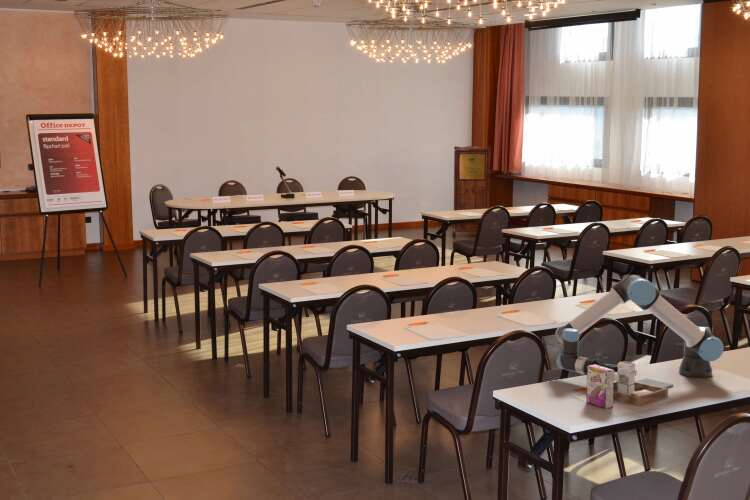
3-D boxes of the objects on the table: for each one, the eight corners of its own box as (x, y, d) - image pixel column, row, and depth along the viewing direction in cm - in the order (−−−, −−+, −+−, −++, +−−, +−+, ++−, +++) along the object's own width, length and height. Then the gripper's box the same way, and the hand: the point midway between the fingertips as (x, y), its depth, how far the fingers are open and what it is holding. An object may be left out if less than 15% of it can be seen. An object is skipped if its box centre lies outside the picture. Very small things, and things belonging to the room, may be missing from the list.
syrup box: (634, 394, 405) (635, 362, 403) (628, 397, 400) (629, 365, 399) (622, 392, 409) (624, 360, 407) (616, 394, 404) (617, 362, 402)
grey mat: (629, 385, 419) (629, 383, 419) (646, 380, 428) (646, 378, 428) (656, 392, 409) (656, 389, 408) (673, 386, 418) (673, 384, 418)
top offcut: (630, 396, 397) (630, 393, 397) (644, 392, 403) (644, 389, 403) (639, 398, 393) (639, 395, 393) (654, 394, 399) (654, 392, 399)
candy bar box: (585, 402, 392) (586, 365, 390) (593, 400, 395) (595, 363, 393) (605, 409, 383) (606, 371, 381) (613, 407, 385) (614, 369, 383)
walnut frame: (595, 395, 402) (596, 388, 402) (625, 386, 418) (625, 378, 417) (638, 406, 387) (639, 398, 386) (667, 396, 402) (668, 388, 401)
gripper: (603, 369, 427) (642, 378, 411) (570, 379, 411) (610, 388, 395) (603, 354, 426) (643, 362, 410) (571, 362, 410) (611, 372, 394)
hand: (627, 375), depth 403 cm, fingers open, 13 cm apart
